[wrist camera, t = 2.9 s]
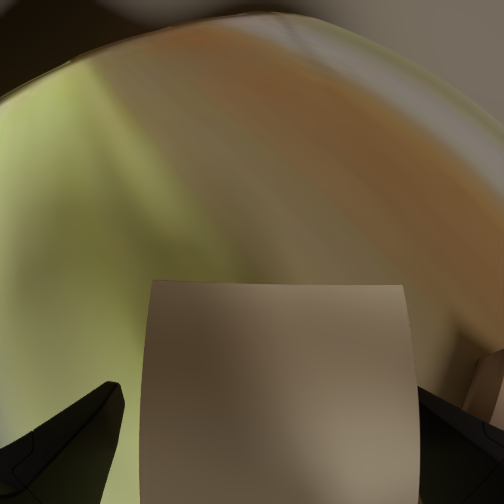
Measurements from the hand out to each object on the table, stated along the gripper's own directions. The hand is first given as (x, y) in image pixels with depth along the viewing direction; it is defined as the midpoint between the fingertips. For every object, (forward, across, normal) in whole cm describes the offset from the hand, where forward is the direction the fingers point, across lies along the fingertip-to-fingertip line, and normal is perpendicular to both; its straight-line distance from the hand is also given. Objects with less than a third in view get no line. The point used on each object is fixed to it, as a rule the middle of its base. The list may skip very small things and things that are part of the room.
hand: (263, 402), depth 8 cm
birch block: (+5, 0, +6) cm, 8 cm away
